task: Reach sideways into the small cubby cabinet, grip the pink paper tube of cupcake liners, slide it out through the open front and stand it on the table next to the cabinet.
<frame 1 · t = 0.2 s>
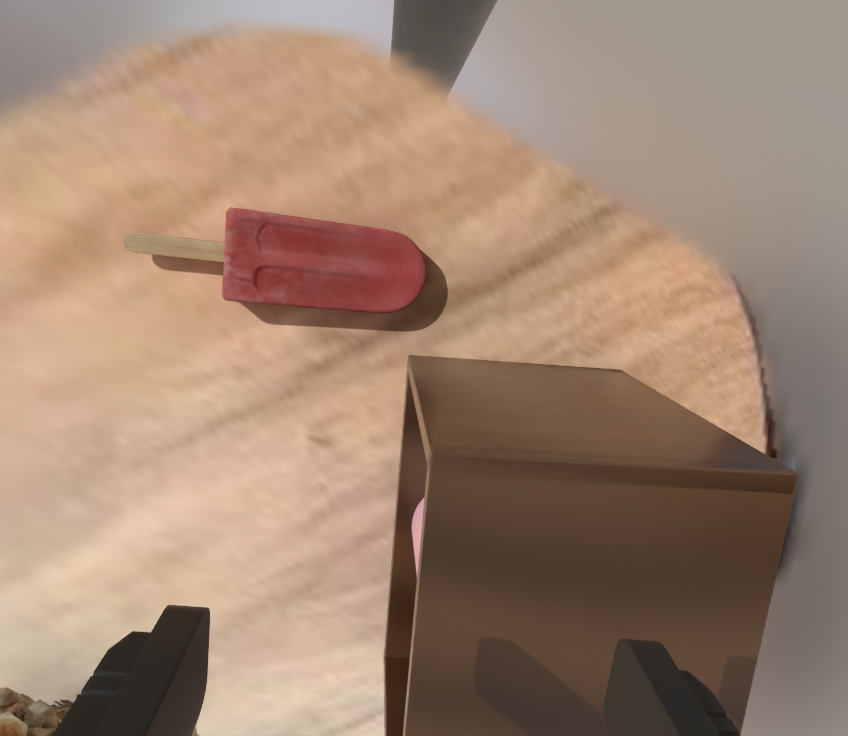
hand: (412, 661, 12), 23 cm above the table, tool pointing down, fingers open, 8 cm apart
liner tube: (457, 525, 35), point 1 cm above the table, touching cubby cabinet
cubby cabinet: (497, 519, 37), on the table
popsicle: (281, 258, 33), on the table
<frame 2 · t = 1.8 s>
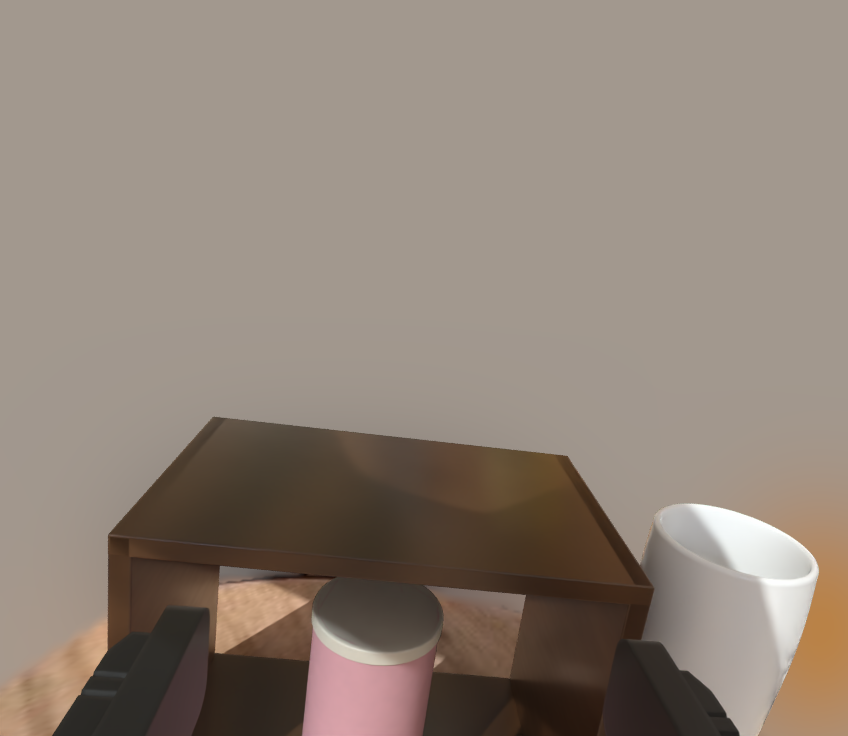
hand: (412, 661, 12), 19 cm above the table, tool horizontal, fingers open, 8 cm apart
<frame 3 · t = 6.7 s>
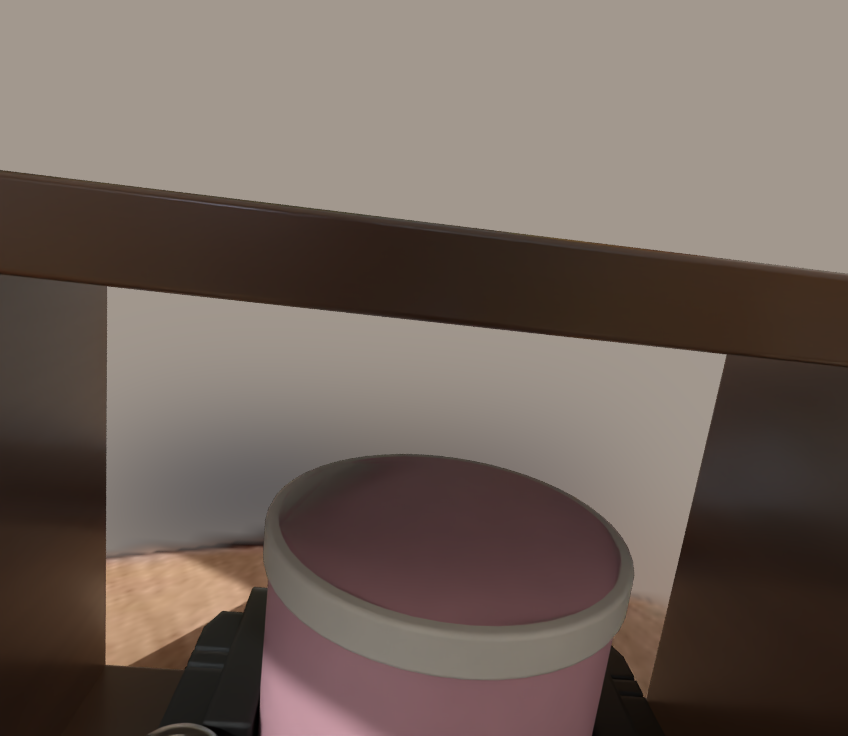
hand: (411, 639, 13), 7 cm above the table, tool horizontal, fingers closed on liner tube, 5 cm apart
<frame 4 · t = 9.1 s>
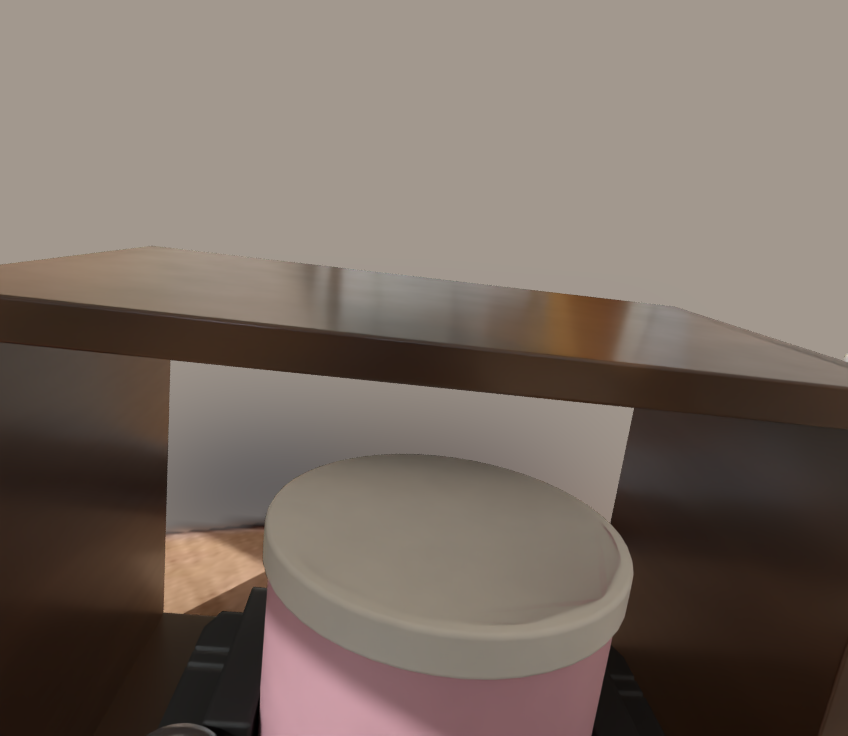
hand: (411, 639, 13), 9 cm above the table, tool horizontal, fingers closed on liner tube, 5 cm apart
when the fingers open (6 cm above the table, at t = 11.6 s): liner tube stays where it is, on the table.
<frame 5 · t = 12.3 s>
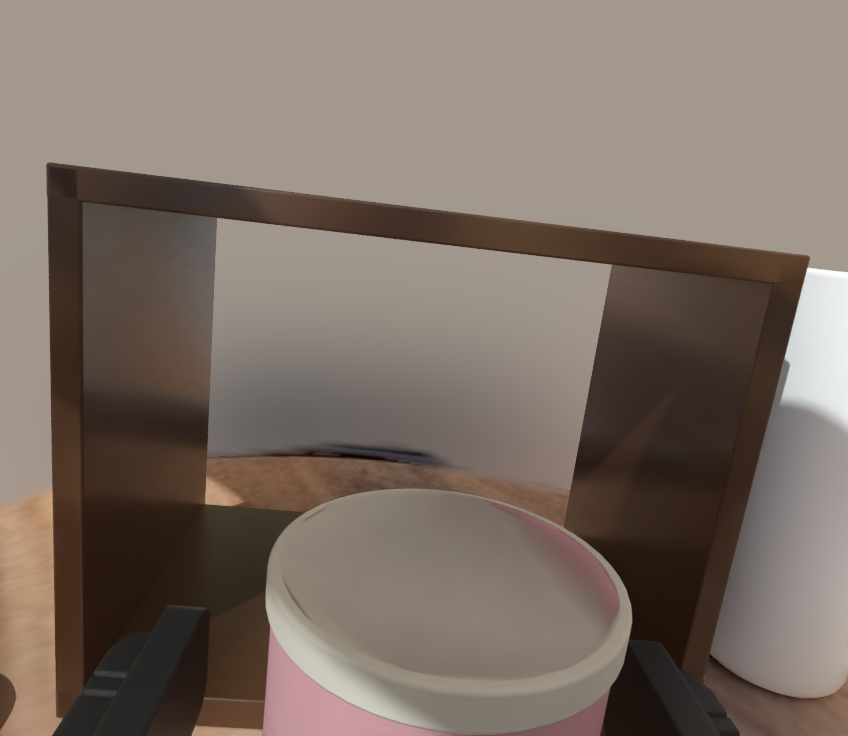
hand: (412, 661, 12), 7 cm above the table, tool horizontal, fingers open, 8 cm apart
cubby cabinet: (384, 613, 24), on the table
drinking glass: (762, 660, 25), on the table
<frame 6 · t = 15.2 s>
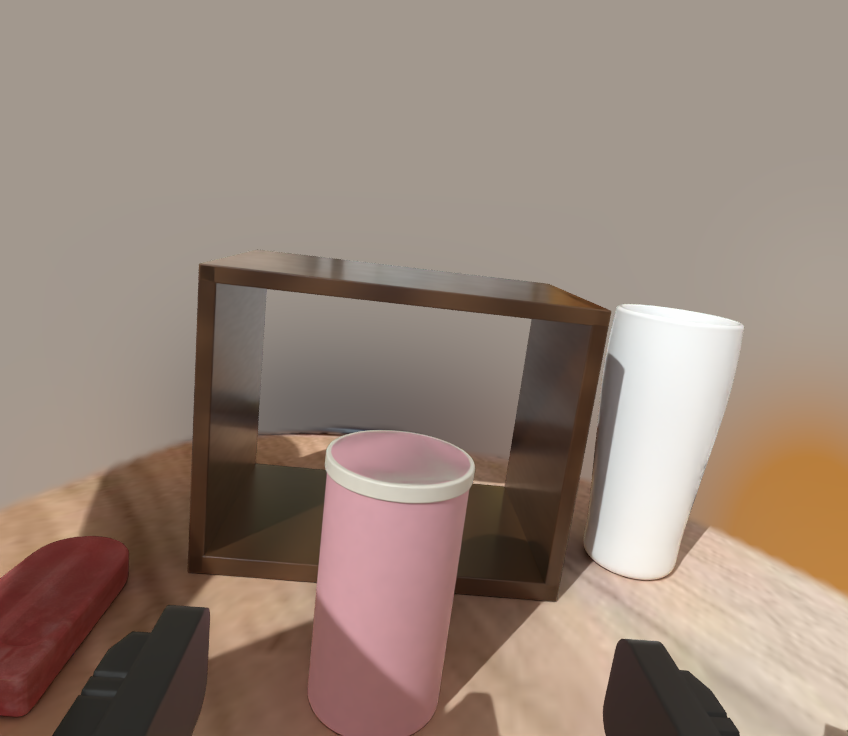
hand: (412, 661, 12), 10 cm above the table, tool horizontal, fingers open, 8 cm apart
liner tube: (373, 690, 25), on the table
cubby cabinet: (378, 530, 38), on the table
drinking glass: (625, 562, 38), on the table
popsicle: (5, 668, 24), on the table
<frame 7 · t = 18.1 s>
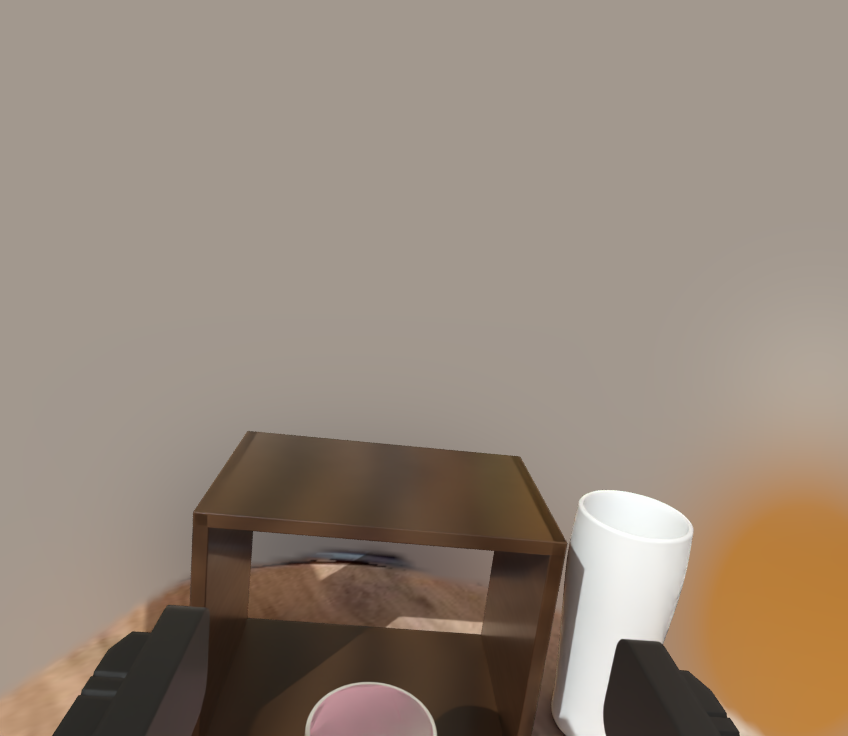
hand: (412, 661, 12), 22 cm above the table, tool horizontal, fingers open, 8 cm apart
cubby cabinet: (361, 698, 41), on the table
drinking glass: (590, 726, 41), on the table
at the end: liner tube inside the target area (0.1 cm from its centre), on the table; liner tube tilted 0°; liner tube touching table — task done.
